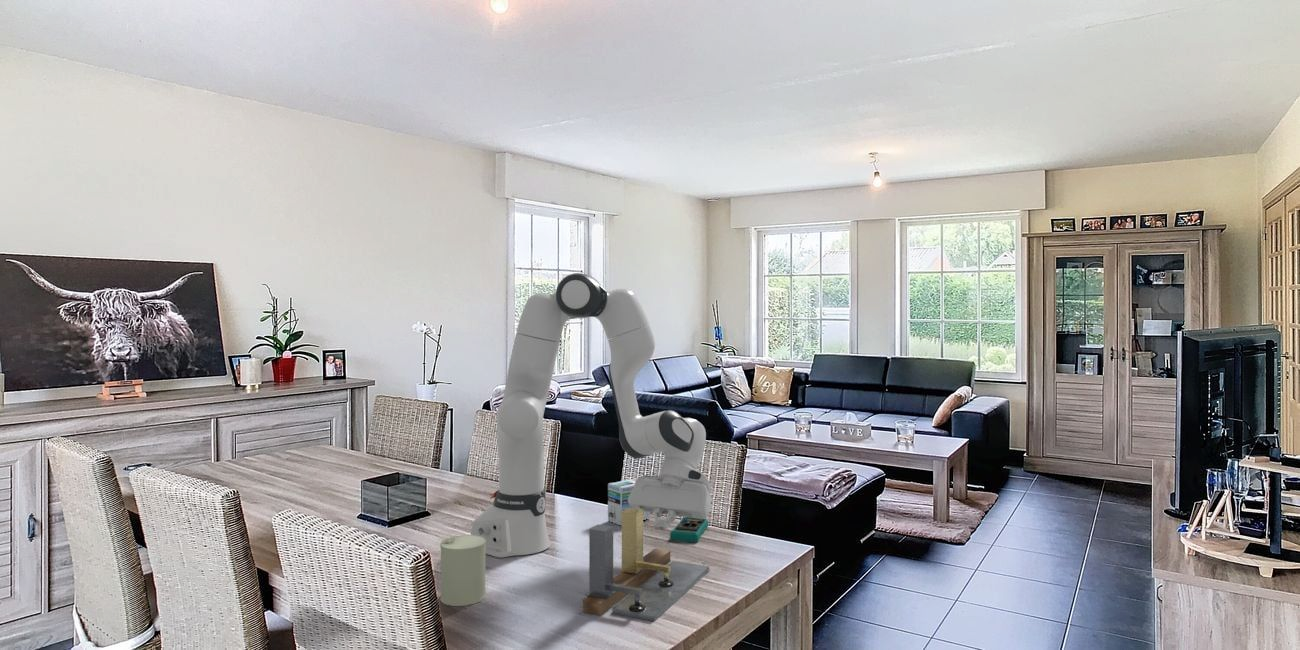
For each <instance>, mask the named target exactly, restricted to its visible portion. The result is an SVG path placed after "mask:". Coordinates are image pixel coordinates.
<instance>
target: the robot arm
mask: <svg viewBox="0 0 1300 650" xmlns="http://www.w3.org/2000/svg"><path fill="white" fill-rule="evenodd" d="M519 317H520V318H519V321H518V325H517V328H516V333H515V337H514V340H513V341H514V342H513V345H512V350H511V354H510V359H509V364H508V368H507V370H508V371H507V376H506V382H505V386H504V392H503V397H502V400H501V403H500V405H499V406H498V407H497V408H498V409H497V411H496V432H497V434H496V435H497V451H498V490H496V491H495V492H492V493H490V494H489V496H490V497H489V500H491V499H493V498H494V499H493V502H492V505H490V506H489V507H488V508H487V509H486V510H485V511H483V512H482V513H481V514H480V515H478V516H476V518H474V520H473V522H472V525H471V527H470V535H474V536H480V537H483V538H484V539H485V540H486V546H485V555H489V556H493V557H495V558H508V557H513V556H525V555H531V554H537V553H540V552H543V551H545V550H547V549H549V548H550V546H551V541H550V537H549V534H548V530H547V529H548V528H547V523H546V514H545V511H546V488H544V487H545V486H544V485H545V484H544V483H545V482H544V480H545V477H544V476H545V475H544V474H545V473H544V470H545V468H544V467H545V464H544V459H545V458H544V457H545V456H544V416H545V415H544V414H545V409H546V405H547V400H548V396H549V390H550V387H551V382H552V380H553V379H552V378H553V374H554V369H555V365H556V360H557V356H558V352H559V347H560V342H561V338H562V332H563V330H564V326H565V324H566V323H567V321H569V320H576V319H580V320H581V319H588V318H595V319H597V320H598V321H599V322H600V324H601V326H602V328H603V330H604V334H605V336H606V340H607V343H608V346H609V349H610V363H609V366H608V377H609V378H608V379H609V384H610V388H611V393H612V398H613V403H614V407H615V413H616V417H617V421H618V437H619V443H620V445H621V448H622V450H623V451H624V452H625V453H626V455H628V456H629V457H631V458H634V459H635V460H636V459H638V460H639V459H644V458H645V457H648V456H651V455H654V454H659V453H661V454H663V455H664V459H663V461H662V463H661V464H662V465H661V467H660V470H659V474H658V476H657V475H656V476H655V475H647V474H645V475H644V474H643V475H642V476H639V477H637V480H636V482H635V485H634V487H633V489H632V491H631V493H630V495H629V497H628V503H629V505H630V507H631V508H637V509H643V512H650V514H651V513H653V516H654V523H653V528H654V529H655V530H657V531H658V530H660V531H665V532H666V531H668V528H669V526H670V525H671V524H672V523H673V522H674V521H676V518H677V517H682V518H684V517H690V518H698V519H706V518H707V517H708V516H709V514H710V509H711V503H712V498H711V496H710V494H711V493H712V489H713V488H712V485H711V483H710V480H709V478H708V477H707V475H706V474H705V473H703V472H701V471H698V465H699V463H700V462H701V461H702V459H703V455H704V454H703V453H704V450H705V447H706V442H707V440H706V438H707V432H706V428H705V426H704V425H703V424H702V423H701V422H700V421H698V419H696V418H695V419H694V418H691V417H682V416H681V415H680V414H679V413H678V412H677V411H674V410H663V411H659V412H655V413H652V414H649V415H645V416H643V415H642V414H641V413H640V409H639V404H638V401H637V400H638V399H637V394H636V391H635V379H636V377H637V375H638V373H639V372H640V371H641V370H642V369H643V368H644V367H645V366H646V365H647V364H648V363H649V361H650V360H651V358H652V356H653V355H654V352H655V348H656V343H655V338H654V333H653V331H652V329H651V326H650V323H649V320H648V318H647V315H646V313H645V311H644V308H643V307H642V305H641V303H640V302H639V299H638V298H637V296H636V294H635V293H634V292H633V291H631V290H630V289H627V288H617V289H614V290H606V289H605V288H604V287H602V285H601V283H600V282H599V281H598V280H597V279H596V278H595V277H593V276H591V275H589V274H585V273H580V272H575V273H571V274H568V275H566V276H565V277H563V278H562V279H561V280H560V282H559V283H558V284H557V286H556V290H555V293H546V292H541V293H540V292H539V293H536V294H535V293H534V294H532V295H531V296H530V297H529V298H528V299H527V300H526V303H525V304H524V307H523V310H522V312H521V314H520V316H519ZM663 515H668V516H667V517H665V519H664V520H663V519H662V520H661V519H660V518H662V516H663Z"/></svg>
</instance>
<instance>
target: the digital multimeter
mask: <svg viewBox="0 0 1300 650" xmlns="http://www.w3.org/2000/svg"><path fill="white" fill-rule="evenodd" d="M707 527H709V520H707V519H706V518H705V519H698V518H690V517H682V518H681V519H680V521H679V522H678V524H677V525H676V526H674V528H673V529H672V530H671V531H670V532H669V536H670V537H669V539H671V540H670V541H674V540H678V541H677V542H683V541H688V542H687V543H698V542H699V541H700V538H701V536H702V535H703V534H704V532H705V531H706V530H707V529H708V528H707ZM706 528H707V529H706ZM702 533H703V534H702Z"/></svg>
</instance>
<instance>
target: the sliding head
mask: <svg viewBox="0 0 1300 650" xmlns="http://www.w3.org/2000/svg"><path fill="white" fill-rule="evenodd" d="M643 557H644V521H643V509H637V508H627V509H625V510H624V511H622V526H621V572H622V571H623V572H629V573H634V574H637V573H638V572H640V571H641V570H642V569H643V568H645V569H651V570H657V572H659V571H663V572H664V582H669V572H670V571H671V566H668V564H666V565H662V564H656V563H650V562H643Z"/></svg>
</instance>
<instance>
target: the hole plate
mask: <svg viewBox="0 0 1300 650" xmlns="http://www.w3.org/2000/svg"><path fill="white" fill-rule="evenodd" d="M667 565H668V566H671V571H670V572H669V582H664V572H663V571H657V572H656V573H655V574H654V575H652V576H651V577H650V578H648V579H647V580H646V581H644V582H643V583H642V584H641V585H639V586H638V588H642V594H641V595H640V606H635V595H632V594H628V595H626V596H625V597H624V598H623V599H621V600H620V601H619V602H617V603H616V604H615V605H614V606H612V607H611V608H612V609H611V612H612V614H615V615H620V616H625V617H631V618H634V619H635V618H636V619H640V620H645V621H650V622H655V621H656V620H657V619H659V617H660V616H662V615H663V614H664V613H665V612H666V611H667V610H668V609H670V607H672V606H673V605H674V604H675V602H677V601H678V600H679V599H680V598H681V597H682V596H684V595H685V594H686V593H687V592H688V591H689V590H690V589H691V588H692V587H693V586H694V585H696V584H697V583H698V582H699V581H701V580H702V578H703V577H705V576H706V574H707V573H709V572H710V566H709V565H702V564H696V563H690V562H684V561H678V560H672V561H670V562H669V563H668V564H667Z"/></svg>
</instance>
